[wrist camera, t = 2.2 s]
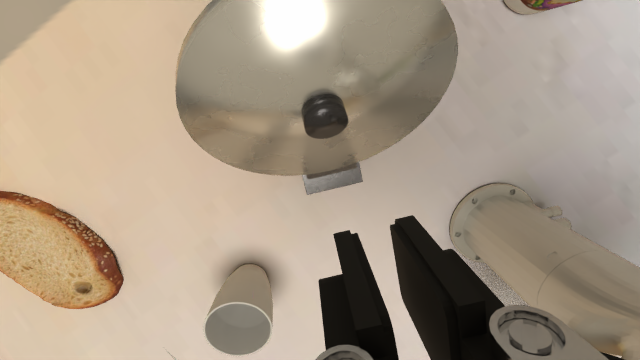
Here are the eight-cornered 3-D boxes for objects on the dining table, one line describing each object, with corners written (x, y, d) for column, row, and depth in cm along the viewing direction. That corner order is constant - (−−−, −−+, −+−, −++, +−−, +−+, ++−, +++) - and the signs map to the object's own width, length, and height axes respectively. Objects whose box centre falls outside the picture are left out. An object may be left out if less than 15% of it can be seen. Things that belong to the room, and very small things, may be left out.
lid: (523, -160, 11) (561, -131, 10) (418, 143, 31) (427, 165, 30) (52, -47, 12) (38, -6, 10) (241, 185, 31) (243, 209, 30)
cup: (212, 267, 45) (190, 317, 35) (262, 246, 44) (253, 292, 35) (238, 307, 47) (223, 364, 38) (286, 288, 47) (283, 341, 37)
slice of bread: (-46, 191, 39) (-80, 203, 35) (100, 185, 40) (80, 195, 36) (3, 306, 45) (-22, 325, 41) (130, 297, 46) (116, 315, 42)
